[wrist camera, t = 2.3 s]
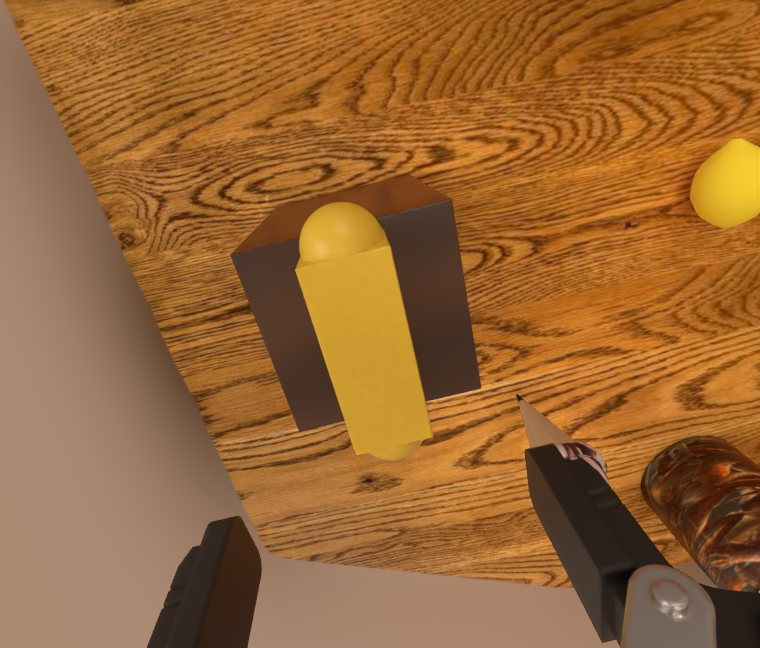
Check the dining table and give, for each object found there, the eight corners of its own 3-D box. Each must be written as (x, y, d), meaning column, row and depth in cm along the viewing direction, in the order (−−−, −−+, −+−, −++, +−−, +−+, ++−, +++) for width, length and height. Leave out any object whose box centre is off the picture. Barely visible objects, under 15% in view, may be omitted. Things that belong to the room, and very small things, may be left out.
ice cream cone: (554, 394, 44) (649, 512, 30) (510, 427, 45) (582, 554, 31) (523, 360, 42) (609, 469, 28) (477, 395, 43) (539, 516, 29)
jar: (625, 511, 51) (727, 646, 38) (661, 432, 47) (792, 555, 33) (713, 513, 53) (842, 645, 39) (756, 437, 48) (920, 556, 34)
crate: (276, 207, 34) (230, 254, 21) (409, 174, 34) (451, 199, 20) (315, 327, 39) (299, 432, 25) (433, 299, 38) (481, 388, 25)
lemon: (731, 215, 37) (790, 227, 32) (671, 229, 37) (720, 243, 33) (742, 130, 34) (809, 128, 30) (677, 145, 35) (732, 146, 30)
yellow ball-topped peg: (290, 207, 20) (279, 223, 16) (373, 187, 20) (379, 197, 16) (362, 437, 25) (365, 484, 22) (427, 421, 25) (440, 466, 22)
